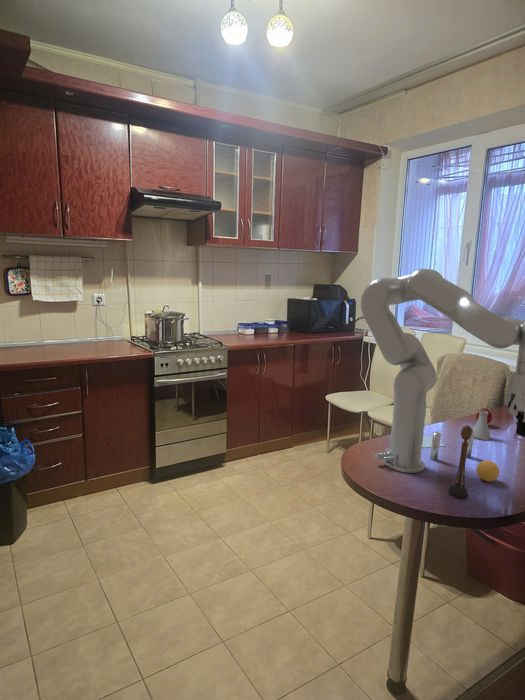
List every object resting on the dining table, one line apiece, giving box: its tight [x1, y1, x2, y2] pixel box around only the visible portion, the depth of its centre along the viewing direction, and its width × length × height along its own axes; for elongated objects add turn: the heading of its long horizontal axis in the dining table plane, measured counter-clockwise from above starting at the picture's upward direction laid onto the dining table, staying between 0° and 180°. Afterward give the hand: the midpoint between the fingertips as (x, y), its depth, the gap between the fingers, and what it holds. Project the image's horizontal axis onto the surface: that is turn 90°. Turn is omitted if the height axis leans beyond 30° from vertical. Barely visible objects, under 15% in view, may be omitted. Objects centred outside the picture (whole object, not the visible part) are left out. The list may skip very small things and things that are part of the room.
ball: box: [476, 459, 500, 482], centre depth 131 cm, size 6×6×6 cm
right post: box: [466, 431, 475, 459], centre depth 148 cm, size 2×2×9 cm
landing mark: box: [422, 435, 446, 449], centre depth 160 cm, size 10×10×1 cm
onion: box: [475, 406, 493, 425], centre depth 180 cm, size 6×6×8 cm
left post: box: [429, 431, 442, 462], centre depth 144 cm, size 2×2×9 cm
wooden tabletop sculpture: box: [448, 425, 473, 500], centre depth 120 cm, size 6×5×20 cm
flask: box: [472, 410, 492, 441], centre depth 167 cm, size 7×7×10 cm
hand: (522, 435), depth 119 cm, fingers closed
